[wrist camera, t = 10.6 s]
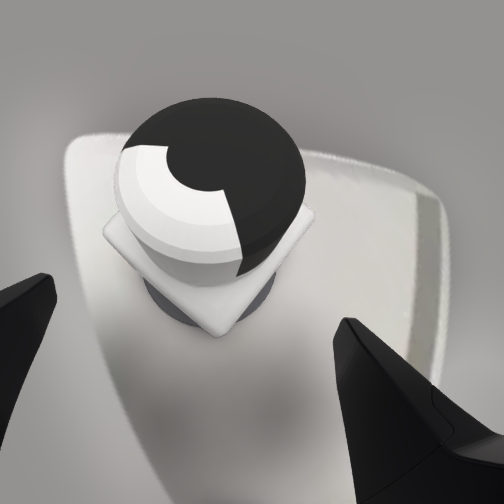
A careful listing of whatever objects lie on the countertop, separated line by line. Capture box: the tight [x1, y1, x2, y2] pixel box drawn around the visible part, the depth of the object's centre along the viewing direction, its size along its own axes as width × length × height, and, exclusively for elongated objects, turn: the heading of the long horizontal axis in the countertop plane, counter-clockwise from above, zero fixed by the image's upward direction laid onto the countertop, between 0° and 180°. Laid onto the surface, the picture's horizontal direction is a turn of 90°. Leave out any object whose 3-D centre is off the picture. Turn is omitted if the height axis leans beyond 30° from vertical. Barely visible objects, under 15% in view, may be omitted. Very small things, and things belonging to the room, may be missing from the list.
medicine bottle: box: [103, 98, 315, 338], centre depth 14 cm, size 7×7×12 cm
